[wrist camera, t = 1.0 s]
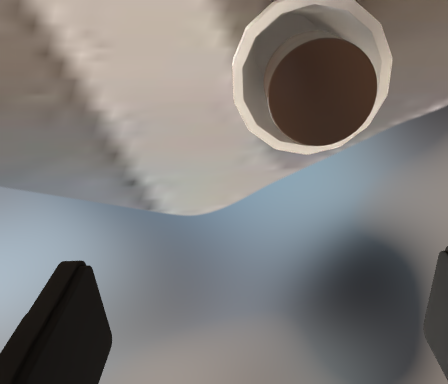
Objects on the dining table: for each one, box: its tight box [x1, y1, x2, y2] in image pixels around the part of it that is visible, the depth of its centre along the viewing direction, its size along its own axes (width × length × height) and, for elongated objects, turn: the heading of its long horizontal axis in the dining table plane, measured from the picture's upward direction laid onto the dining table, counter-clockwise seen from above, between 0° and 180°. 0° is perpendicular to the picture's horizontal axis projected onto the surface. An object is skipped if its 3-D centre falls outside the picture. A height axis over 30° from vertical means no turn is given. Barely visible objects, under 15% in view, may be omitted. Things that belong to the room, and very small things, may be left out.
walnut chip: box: [264, 30, 377, 146], centre depth 22 cm, size 6×6×4 cm
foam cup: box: [232, 0, 393, 155], centre depth 29 cm, size 10×9×13 cm
